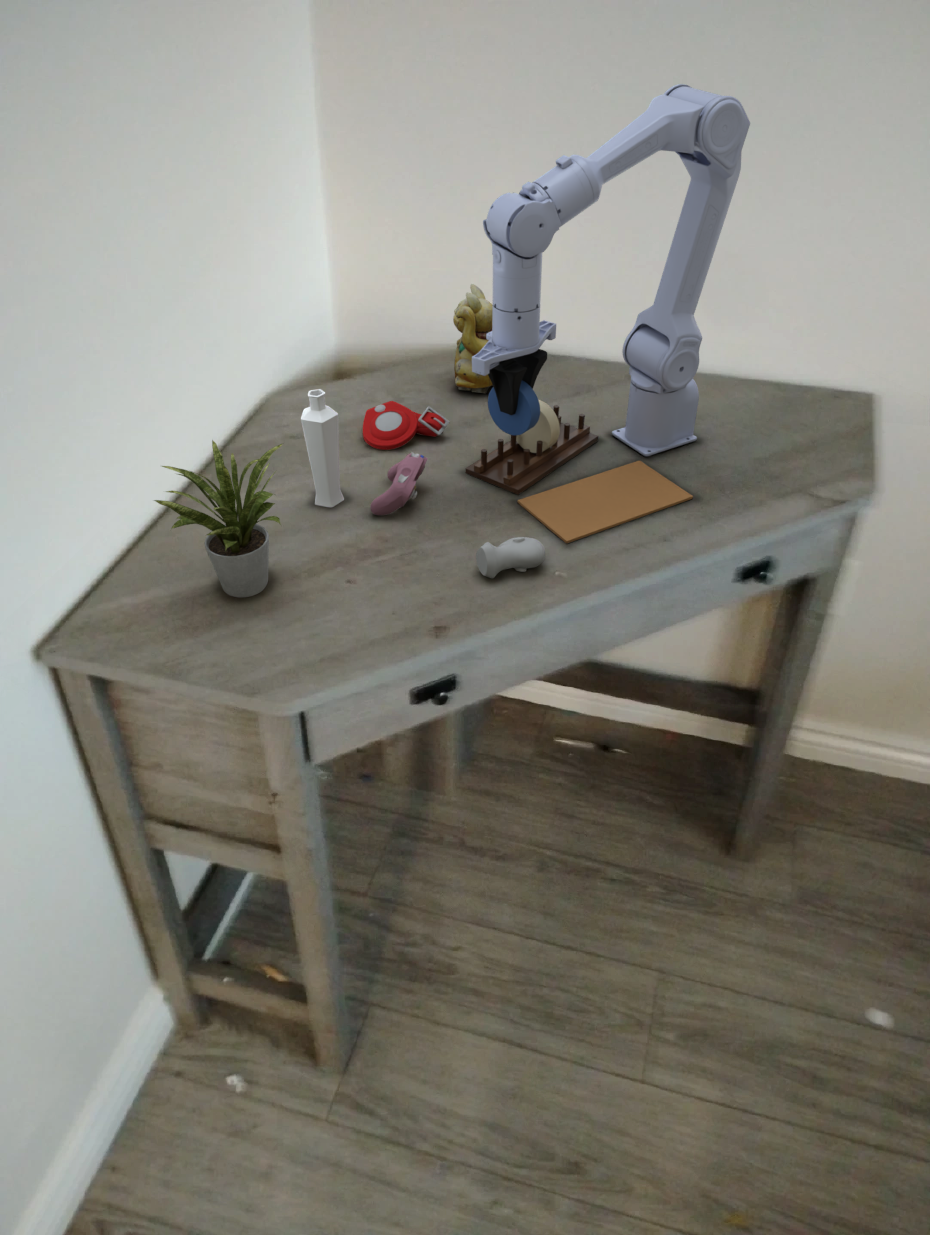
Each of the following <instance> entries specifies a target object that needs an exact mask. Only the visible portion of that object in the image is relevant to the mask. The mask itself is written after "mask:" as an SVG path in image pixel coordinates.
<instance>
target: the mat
mask: <svg viewBox="0 0 930 1235" xmlns="http://www.w3.org/2000/svg"><path fill="white" fill-rule="evenodd" d="M693 498H694V495H692V494H691V493H689V492H687V491H686V490H685V489H684V488H681V487H680V486H678V485H677V484H676V483H674V482H673V481H671V480H670V479H668V478H667V477H666V476H664V475H663V474H661V473H659V472H658V471H656V470H655V469H653V468H652V467H650V466H649V465H647V463H644V462H643V461H642V460H636V461H633V462H630V463H627V464H624V465H621V466H617V467H614V468H611V469H609V470H605V471H602V472H599V473H597V474H594V475H591V476H587V477H584V478H581V479H578V480H575V481H572V482H569V483H566V484H562V485H559V486H557V487H553V488H549V489H547V490H544V491H542V492H538V493H535V494H532V495H529V496H526V497H522V498H520V499H517V504H518V505H519V506H521V507H522V508H523V509H524V510H526V511H527V512H528V513H529V514H530V515H531V516H533V517H534V518H535V519H536V520H538V521H539V522H540V523H541V524H542V525H543V526H545V527H546V528H547V529H548V530H550V532H552V533H553V534H554V535H556V537H558V538H559V539H560V540H561V541H562V542H564V543H565V544H569V543H572V542H575V541H578V540H580V539H584V538H587V537H589V536H592V535H594V534H598V533H600V532H601V533H602V532H603V531H606V530H609V529H611V528H615V527H618V526H620V525H623V524H626V523H629V522H632V521H634V520H637V519H639V518H643V517H645V516H648V515H652V514H653V513H656V512H659V511H662V510H665V509H668V508H670V507H673V506H677V505H678V504H679V505H680V504H682V503H684V502H687V501H690V500H692V499H693Z"/></svg>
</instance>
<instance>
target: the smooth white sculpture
mask: <svg viewBox="0 0 930 1235" xmlns="http://www.w3.org/2000/svg"><path fill="white" fill-rule="evenodd" d="M545 558H546V549H545V546H544V545H543V543H542V542H541V541H540V540H539V539H536V538H534V537H528V536H527V537H526V536H516V537H512V538H509V539H507V540H505V541H503V542H502V543H500V544H499V545H498V546H495V545H493V544H492V543H490V542H489V541H486V542H485V543H483V544H482V545H481V546H480V547H479V548H478V549H477V551H476V554H475V561H476V566H477V568H478V570H479V572H480V573H481V574H482V575H483V576H484V577H487V578H489V579H494V578H495V577H496V576H497V575H498V574H499V573H500V572H501V571H505V570H508V569H515V571H517V572H522V573H525V572H527V569H533V568H536V567H539V566H540V565H541V564H542V563H543V562H544V560H545Z"/></svg>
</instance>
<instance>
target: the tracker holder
mask: <svg viewBox="0 0 930 1235" xmlns="http://www.w3.org/2000/svg"><path fill="white" fill-rule="evenodd" d="M449 424H450V420H448V418H446V417H445V416H443V415H442V414H441V413H439V412H437V411H436V410H435V409H434V408H432V407H431V406H430V405H428V406H427V407H426V408H425V410H424V411H423V412H422V413H418V412H415V411H413V410H411V409H410V408H408V407H407V406H405V405H404V404H401V403H399V402H397V401H394V400H389V401H386V402H384V403H381V404H378V405H375V406H373V407H371V408H368V409H367V410H366V411H365V414H364V418H363V422H362V437H363V441H364V442H365V443H366V444H367V445H369V447H370V448H373V449H375V450H382V451H389V450H395V449H399V448H401V447H402V446H405V445H406V444H408V443H409V442H410V441H412V439H413V438H414V437H415V435H416V434H417V435H419V436H425V437H434V438H435V437H438V436H441V435H442V433H443V432H444V431H445V429H446V428H447V427H448V425H449Z"/></svg>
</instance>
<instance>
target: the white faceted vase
mask: <svg viewBox="0 0 930 1235" xmlns="http://www.w3.org/2000/svg"><path fill="white" fill-rule="evenodd" d="M307 392H308V393H307V397H308V400H309V406H308V407H305V408H303V411H302V413H301V416H300V422H301V426H302V432H303V436H304V441H305V442H304V443H305V447H306V451H307V456H308V460H309V465H310V470H311V475H312V480H313V484H314V490H315V498H314V505H315V506H320V507H326V508H334V507H335V506H337V505H339V504H340V503H342V502H343V501H345V497H344V495H343V492H342V490H341V475H340V474H341V473H340V472H341V470H340V434H339V433H340V432H339V431H340V429H339V428H340V427H339V412H337V411H336V410H334V409H333V408H332V407H330V405H326V396H325V395H326V392H325V391H324V390H323V389H322V388H317V389H311V390H308V391H307Z"/></svg>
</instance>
